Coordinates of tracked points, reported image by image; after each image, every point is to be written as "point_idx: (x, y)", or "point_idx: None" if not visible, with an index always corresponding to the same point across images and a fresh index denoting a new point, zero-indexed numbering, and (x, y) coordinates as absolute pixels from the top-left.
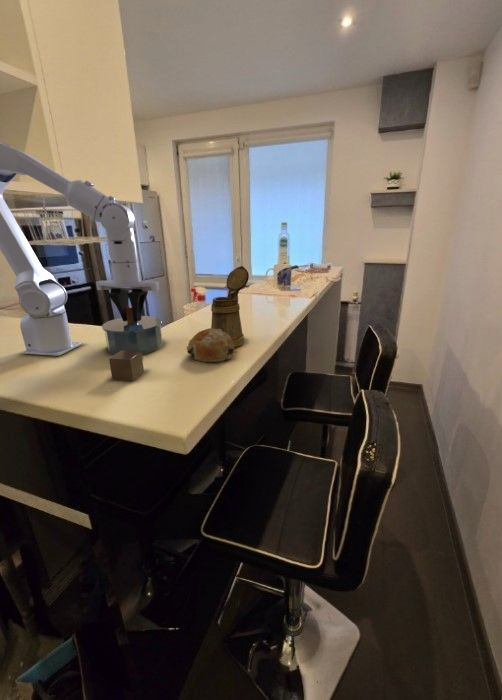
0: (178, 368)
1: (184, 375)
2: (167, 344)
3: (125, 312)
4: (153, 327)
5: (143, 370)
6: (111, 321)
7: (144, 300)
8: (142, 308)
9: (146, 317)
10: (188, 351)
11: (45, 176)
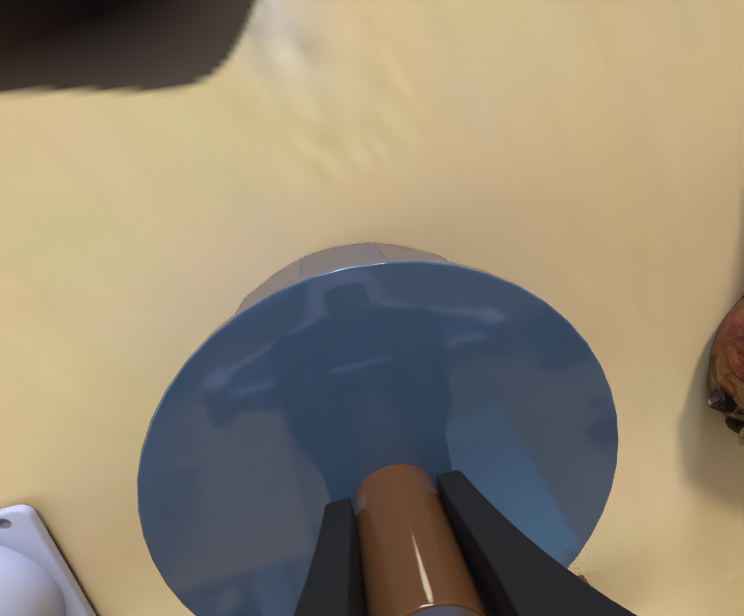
0: (690, 504)
1: (728, 535)
2: None
3: (366, 611)
4: (603, 498)
5: (587, 583)
6: (180, 538)
7: (617, 610)
8: (524, 536)
9: (394, 318)
10: (718, 409)
11: None
